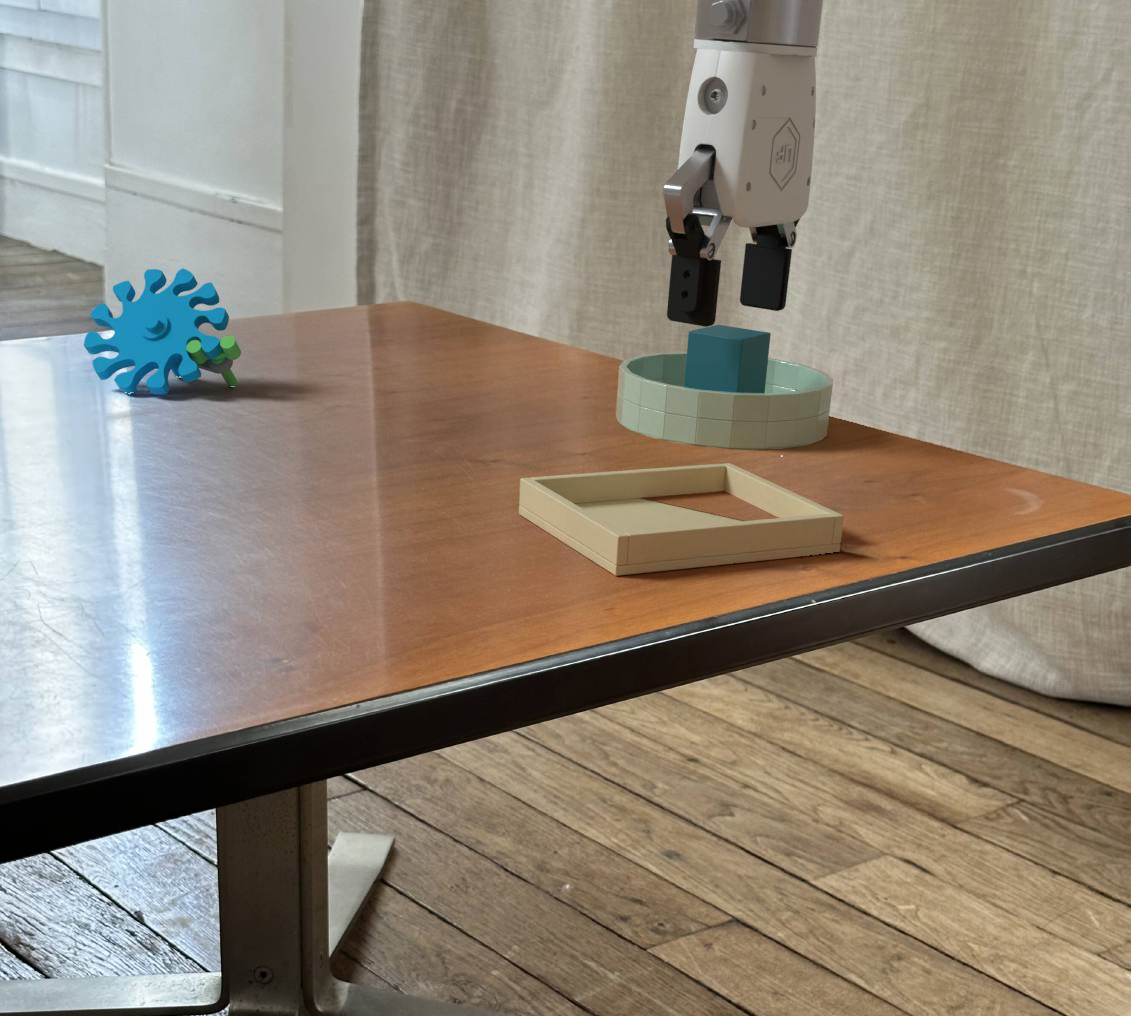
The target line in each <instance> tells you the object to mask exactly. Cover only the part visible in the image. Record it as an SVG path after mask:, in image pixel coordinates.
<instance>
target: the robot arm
mask: <svg viewBox="0 0 1131 1016" xmlns="http://www.w3.org/2000/svg"><path fill="white" fill-rule="evenodd" d="M823 4H824V0H697V3H696V15H695V26H694V34H693V37H694V39H693V49H696V52H695V57H694V62H693V67H692V71H691V75H690V81H689V87H688V91H687V97H686V104H685V109H684V117H683V122H682V123H683V124H682V130H681V138H680V144H679V145H680V146H679V153H678V155H679V156H678V164H677V170H676V171H675V172H674V173H673V175H671V177H669V178H668V180H666V182H665V183H664V186H663V192H662V193H663V201H664V205H665V213H666V218H665V228H666V231H667V234H668V236H669V240H668V246H667V247H668V248H667V249H668V253H669V255H671V263H670V275H669V286H668V297H667V309H666V317H667V319H668V320H669V321H671V322H677V323H681V324H687V325H692V326H693V325H694V326H698V327H699V326H700V327H703V328H706V327H710V326H714V324H715V322H716V317H717V307H718V299H719V298H718V296H719V288H720V287H719V286H720V279H721V277H720V276H721V266H722V260H721V259H715V257H716V256H717V252H718V251H719V248H720V246H721V244H722V242H723V239H724V238H725V235H726V232H727V231H728V229H729V226H730V225H731V222H732V220H733V223H734V224H735V225H736V226H738V227H740V228H746V229H747V228H748V229H749V233H750V238H751V240H752V242H753V243H752V242H748V243H745V247H744V257H743V264H742V265H743V266H742V275H741V284H740V294H739V302H740V304H741V305H742V306H744V307H749V308H756V309H761V310H768V311H775V312H779V311H783V310H784V309H785V307H786V306H787V305H786V304H787V295H788V288H789V279H790V270H791V263H792V253H793V248H795V245H796V244H797V243H796V242H797V236H798V235H797V234H798V233H797V230H796V228H797V226H798V224H799V222H800V220H801V218H802V217H803V216H804V215H805V213H806V212H807V210H808V208H809V203H810V202H809V201H810V191H811V183H812V173H813V160H814V147H815V146H814V145H815V129H816V111H817V110H816V109H817V79H816V78H817V77H816V75H817V73H816V57H817V54H818V53H817V52H818V46H819V38H820V30H821V29H820V28H821V21H822V12H823ZM703 226H705V227H707V228H708V229H707V230H706V233H705V230H704V228H703Z"/></svg>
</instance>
